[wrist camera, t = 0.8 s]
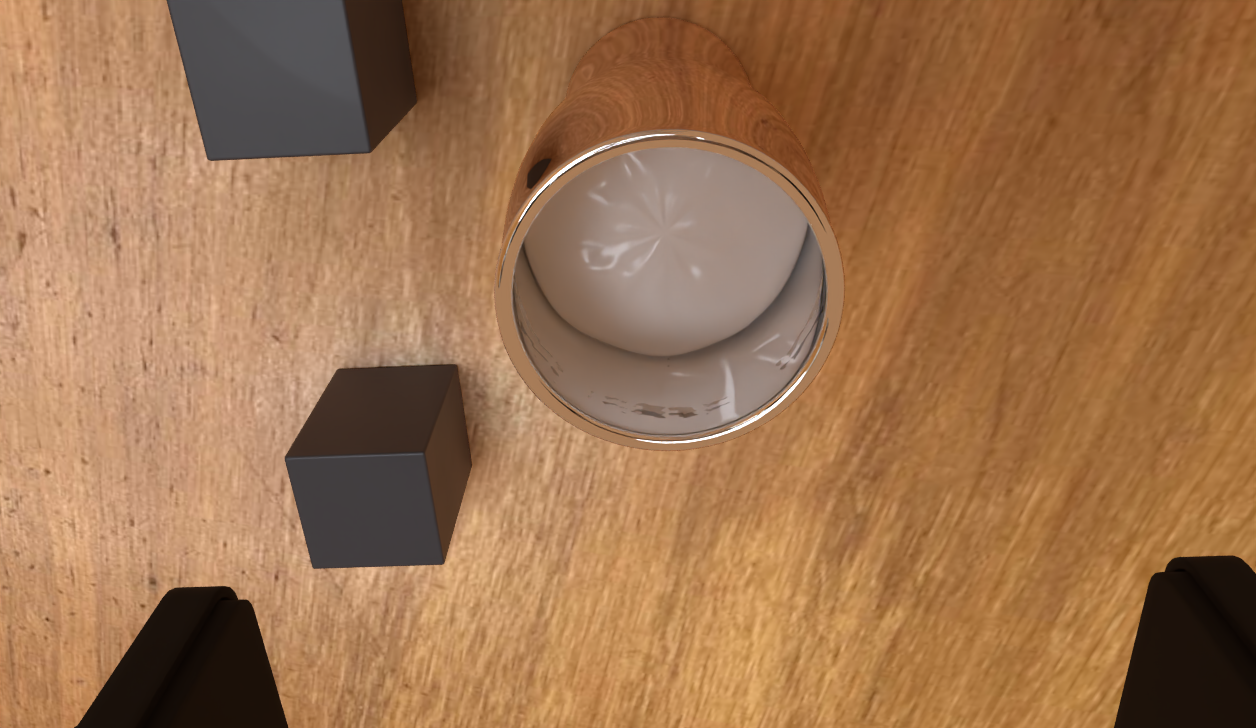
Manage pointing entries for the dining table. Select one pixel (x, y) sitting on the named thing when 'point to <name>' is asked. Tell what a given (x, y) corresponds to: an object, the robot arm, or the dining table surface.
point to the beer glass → (667, 248)
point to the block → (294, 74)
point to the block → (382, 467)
